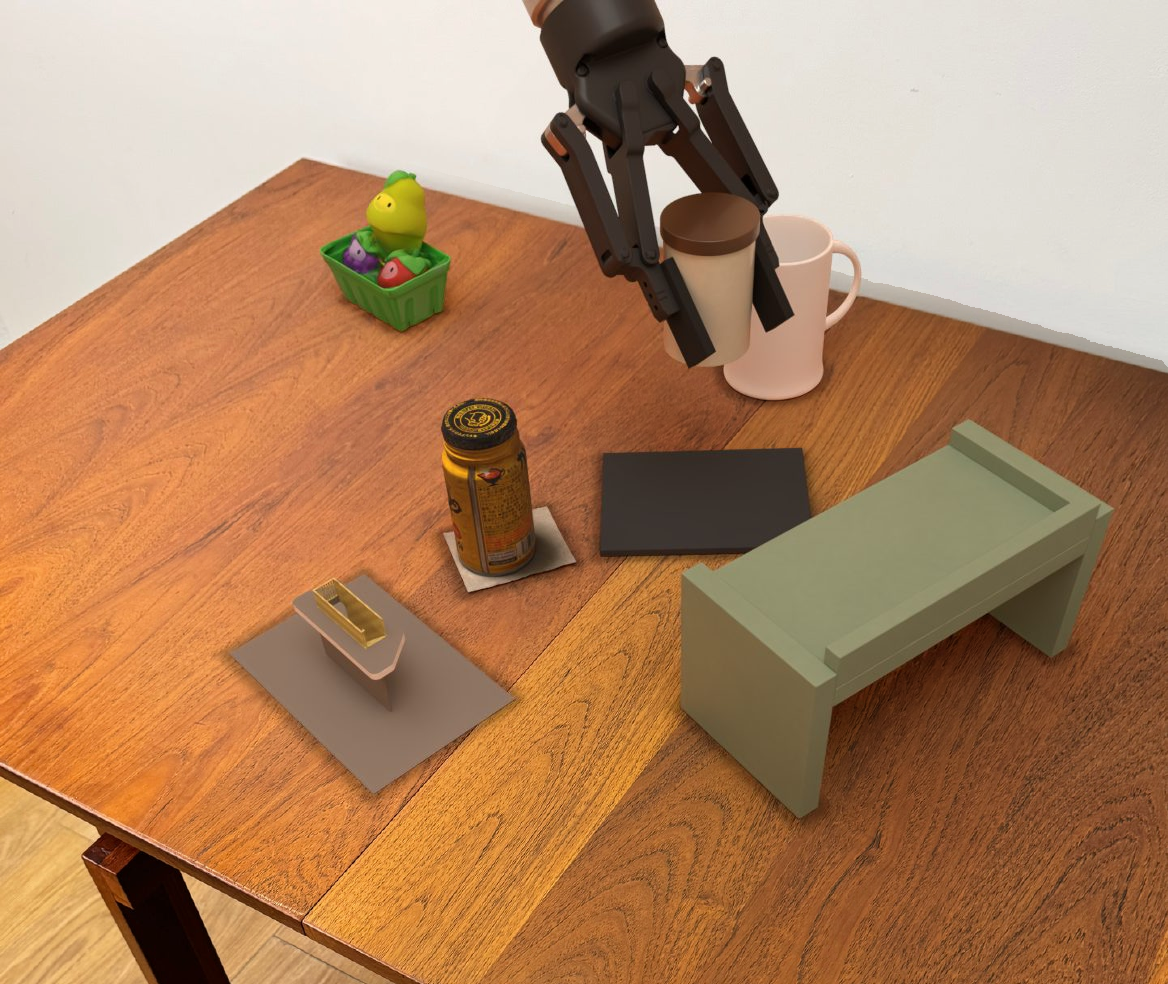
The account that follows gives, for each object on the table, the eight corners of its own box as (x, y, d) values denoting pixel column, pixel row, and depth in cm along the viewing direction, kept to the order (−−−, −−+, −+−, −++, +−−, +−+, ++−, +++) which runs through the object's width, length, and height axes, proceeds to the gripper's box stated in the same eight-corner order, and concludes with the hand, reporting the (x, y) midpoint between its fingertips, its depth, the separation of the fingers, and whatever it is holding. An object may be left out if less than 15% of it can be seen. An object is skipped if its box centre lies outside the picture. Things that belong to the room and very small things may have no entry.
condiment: (443, 535, 97) (418, 401, 88) (547, 508, 99) (533, 373, 89) (468, 594, 93) (445, 460, 83) (576, 565, 94) (566, 430, 85)
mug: (835, 329, 112) (850, 196, 103) (874, 381, 107) (893, 246, 98) (710, 355, 111) (713, 223, 101) (743, 409, 105) (750, 274, 96)
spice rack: (939, 557, 92) (972, 402, 82) (1066, 648, 86) (1120, 491, 76) (679, 707, 85) (680, 556, 74) (799, 819, 78) (817, 671, 68)
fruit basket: (326, 299, 120) (298, 181, 111) (399, 263, 124) (378, 146, 115) (398, 344, 115) (375, 223, 106) (472, 305, 118) (456, 185, 109)
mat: (801, 453, 101) (802, 447, 101) (814, 551, 94) (814, 545, 93) (603, 458, 102) (603, 452, 102) (600, 556, 95) (599, 550, 94)
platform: (364, 573, 95) (346, 504, 90) (515, 698, 86) (505, 629, 81) (228, 653, 90) (201, 585, 85) (373, 794, 81) (353, 727, 76)
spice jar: (750, 316, 89) (757, 190, 82) (755, 367, 85) (763, 239, 78) (660, 319, 89) (659, 193, 82) (660, 370, 85) (660, 243, 78)
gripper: (679, -4, 87) (818, 312, 90) (445, 75, 80) (604, 411, 84) (731, -74, 80) (879, 271, 83) (479, 7, 73) (652, 377, 77)
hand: (741, 341), depth 84 cm, fingers closed on spice jar, 6 cm apart
